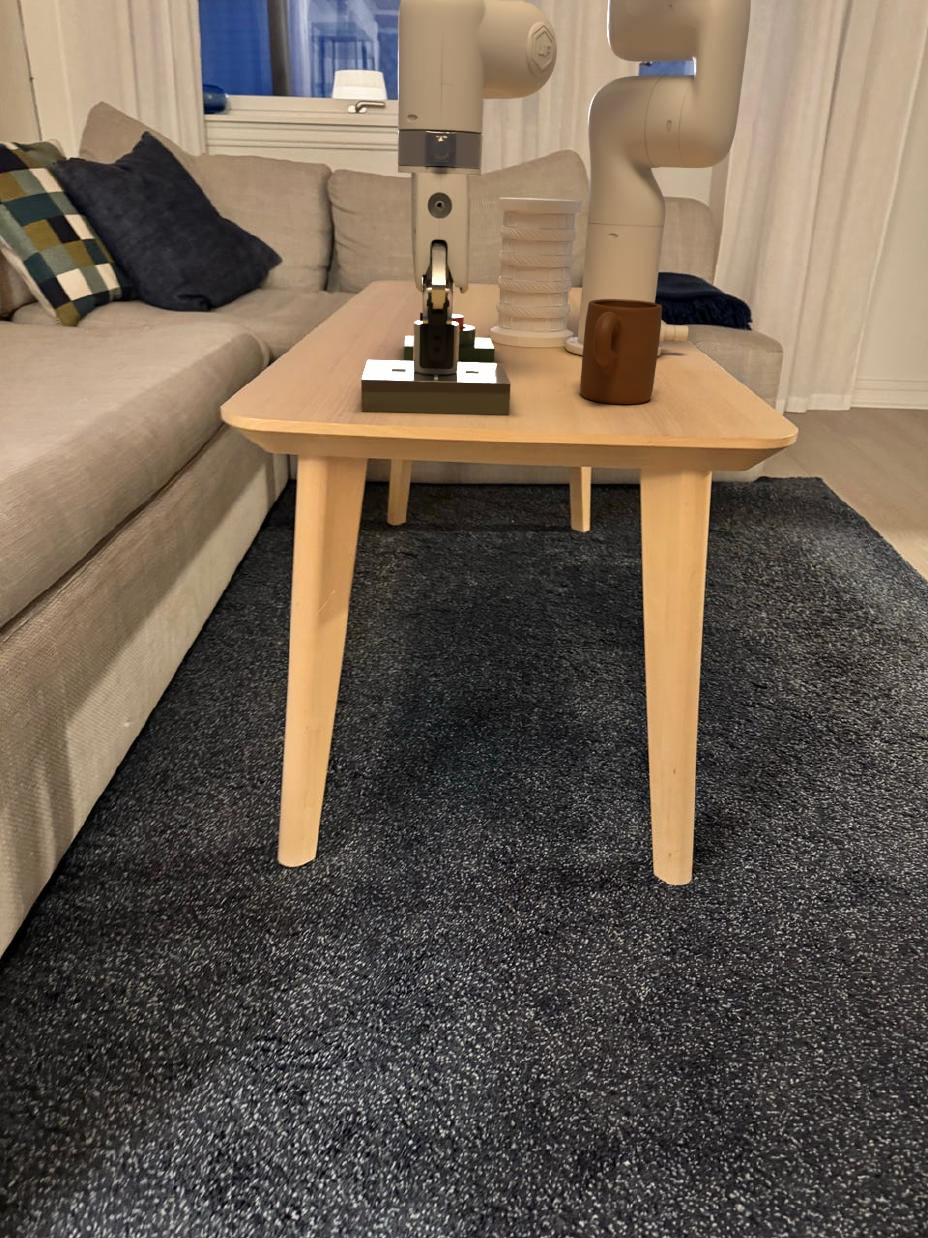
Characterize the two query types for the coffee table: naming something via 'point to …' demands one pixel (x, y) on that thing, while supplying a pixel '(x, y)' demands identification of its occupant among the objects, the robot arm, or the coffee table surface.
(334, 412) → the coffee table surface
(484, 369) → the hob
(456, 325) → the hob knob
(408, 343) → the power box
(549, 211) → the decorative container
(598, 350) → the mug
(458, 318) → the power button
